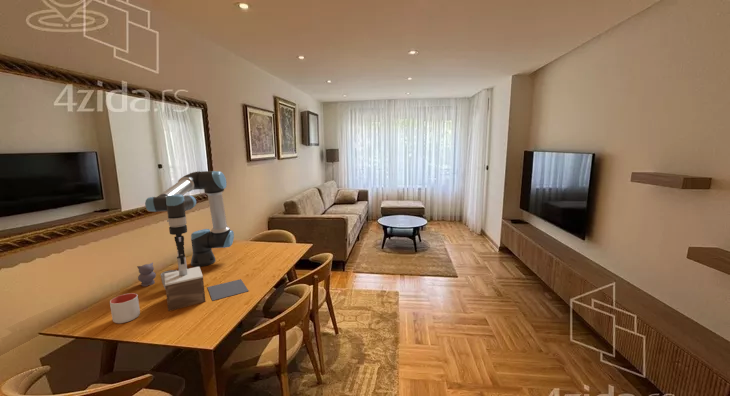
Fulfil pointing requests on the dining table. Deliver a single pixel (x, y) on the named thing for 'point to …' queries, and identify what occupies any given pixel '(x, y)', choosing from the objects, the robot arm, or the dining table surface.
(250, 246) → the dining table surface
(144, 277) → the cat figurine
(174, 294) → the box
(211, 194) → the robot arm
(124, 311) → the cup
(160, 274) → the cup
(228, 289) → the mat
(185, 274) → the lid
